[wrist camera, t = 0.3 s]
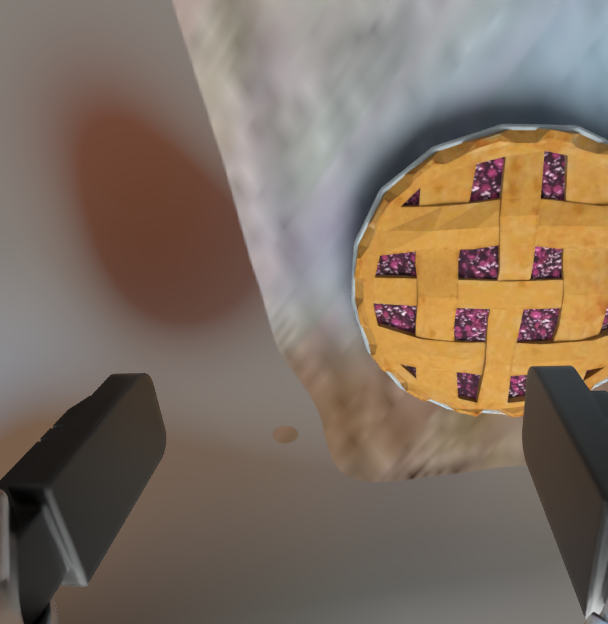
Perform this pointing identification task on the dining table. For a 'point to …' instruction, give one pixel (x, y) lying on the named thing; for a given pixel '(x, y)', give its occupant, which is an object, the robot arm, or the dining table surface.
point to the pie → (488, 266)
